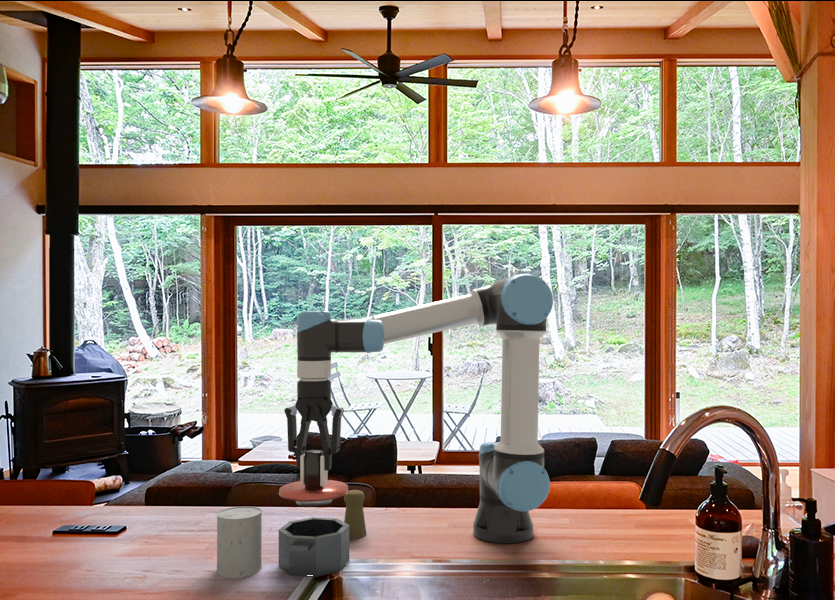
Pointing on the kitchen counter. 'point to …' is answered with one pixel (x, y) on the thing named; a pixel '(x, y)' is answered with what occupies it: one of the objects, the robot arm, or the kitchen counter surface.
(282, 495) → the lid
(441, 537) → the kitchen counter surface
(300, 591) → the kitchen counter surface
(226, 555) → the grey concrete cylinder
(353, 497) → the olive pepper mill
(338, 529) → the pot
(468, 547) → the kitchen counter surface
